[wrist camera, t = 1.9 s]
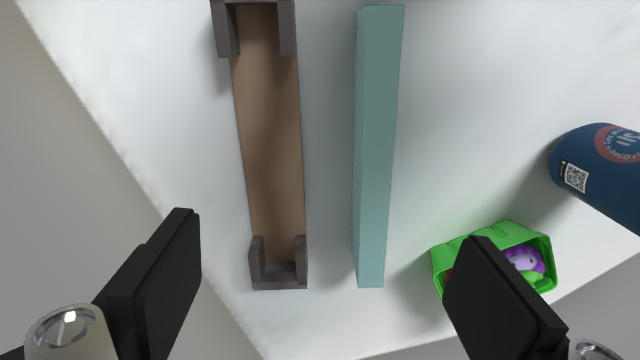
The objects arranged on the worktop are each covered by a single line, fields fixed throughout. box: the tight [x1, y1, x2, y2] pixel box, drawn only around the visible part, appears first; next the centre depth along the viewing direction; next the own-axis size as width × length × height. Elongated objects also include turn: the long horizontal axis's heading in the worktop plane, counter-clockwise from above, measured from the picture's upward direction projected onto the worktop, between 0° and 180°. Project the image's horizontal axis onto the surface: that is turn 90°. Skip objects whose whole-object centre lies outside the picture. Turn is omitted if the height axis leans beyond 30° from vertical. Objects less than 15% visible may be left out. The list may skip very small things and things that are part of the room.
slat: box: [352, 4, 404, 288], centre depth 28 cm, size 24×2×6 cm, turn 2°
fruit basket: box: [430, 220, 558, 319], centre depth 31 cm, size 11×9×11 cm
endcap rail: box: [210, 0, 308, 290], centre depth 29 cm, size 6×27×4 cm, turn 1°
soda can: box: [549, 123, 640, 237], centre depth 26 cm, size 7×7×12 cm
